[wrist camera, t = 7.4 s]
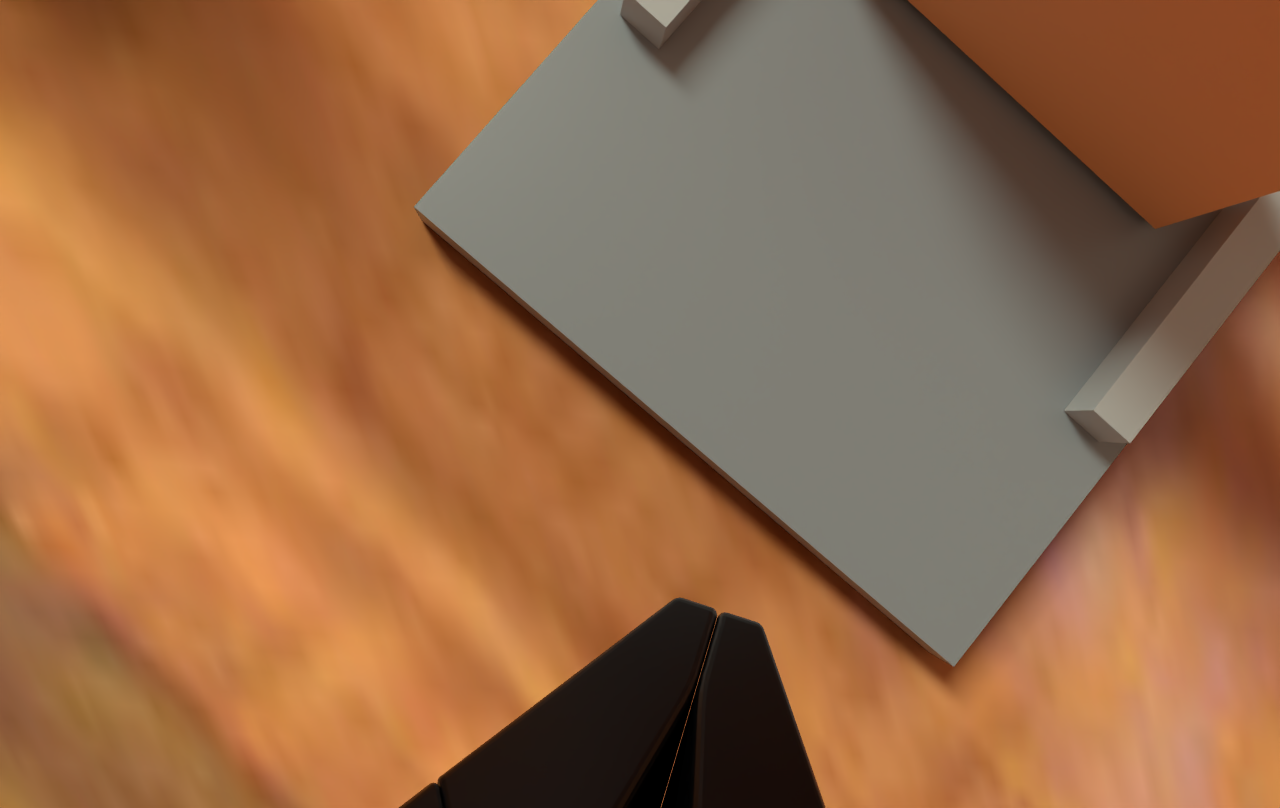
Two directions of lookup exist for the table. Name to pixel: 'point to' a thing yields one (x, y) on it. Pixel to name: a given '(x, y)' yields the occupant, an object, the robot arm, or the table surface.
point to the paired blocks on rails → (846, 279)
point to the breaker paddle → (1141, 90)
